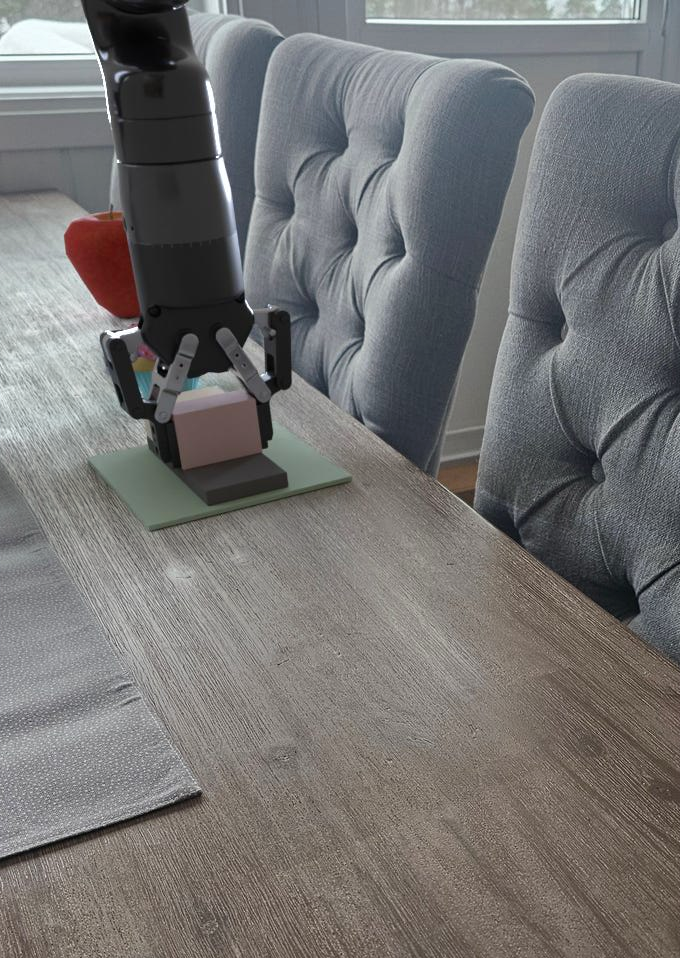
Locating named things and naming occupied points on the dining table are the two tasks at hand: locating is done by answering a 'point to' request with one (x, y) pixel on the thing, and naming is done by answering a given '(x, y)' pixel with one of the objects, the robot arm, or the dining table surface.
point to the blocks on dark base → (221, 446)
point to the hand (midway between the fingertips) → (217, 455)
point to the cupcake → (146, 366)
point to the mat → (173, 502)
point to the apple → (104, 261)
